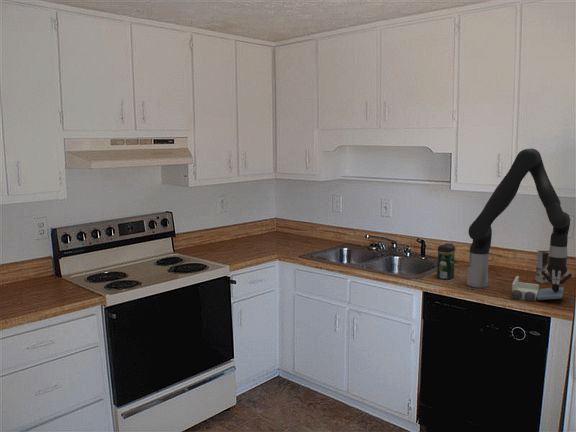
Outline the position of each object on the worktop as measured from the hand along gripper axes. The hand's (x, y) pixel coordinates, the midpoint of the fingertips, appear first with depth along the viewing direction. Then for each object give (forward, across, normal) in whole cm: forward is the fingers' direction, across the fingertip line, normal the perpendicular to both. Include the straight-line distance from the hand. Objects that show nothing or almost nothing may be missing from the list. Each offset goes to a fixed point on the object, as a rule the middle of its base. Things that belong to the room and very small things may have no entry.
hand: (555, 291), depth 242 cm
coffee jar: (+4, -54, +13) cm, 55 cm away
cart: (+4, -13, 0) cm, 13 cm away
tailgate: (+2, -7, 0) cm, 7 cm away
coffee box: (+4, -6, +31) cm, 32 cm away
